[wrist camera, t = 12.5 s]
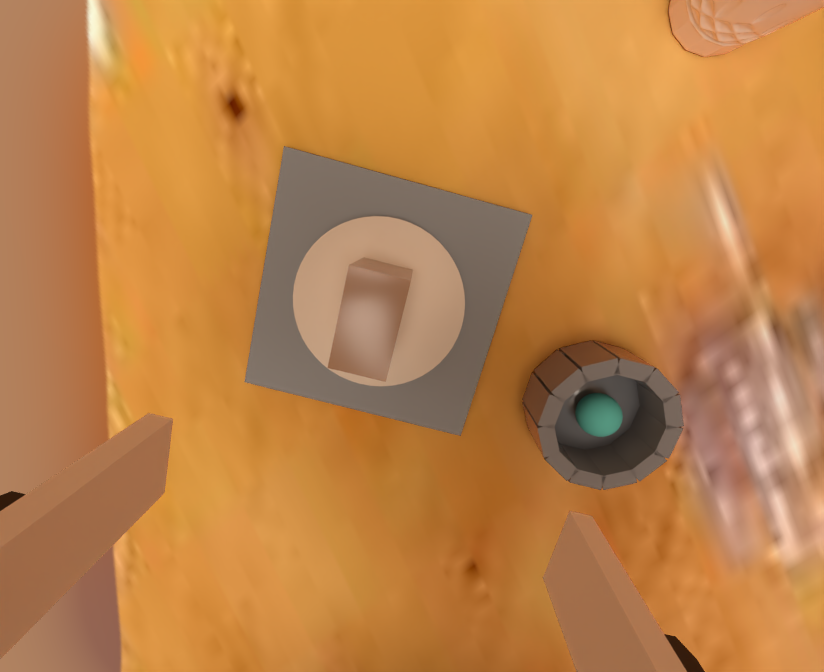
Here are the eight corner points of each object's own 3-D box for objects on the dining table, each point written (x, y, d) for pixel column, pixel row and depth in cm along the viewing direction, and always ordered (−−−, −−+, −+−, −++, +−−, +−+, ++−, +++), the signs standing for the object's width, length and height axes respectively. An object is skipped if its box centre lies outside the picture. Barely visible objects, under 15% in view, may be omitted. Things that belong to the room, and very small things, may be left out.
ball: (601, 428, 37) (620, 449, 33) (563, 418, 36) (578, 439, 33) (617, 392, 36) (638, 409, 32) (577, 382, 36) (594, 398, 32)
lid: (439, 397, 37) (444, 444, 29) (284, 360, 36) (246, 397, 28) (484, 241, 33) (504, 245, 25) (313, 196, 32) (278, 186, 25)
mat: (459, 432, 38) (460, 435, 37) (247, 379, 37) (244, 382, 37) (530, 215, 33) (532, 215, 32) (286, 147, 32) (284, 146, 32)
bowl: (619, 467, 39) (648, 501, 34) (508, 439, 38) (520, 470, 33) (667, 360, 36) (706, 380, 31) (548, 328, 35) (568, 344, 31)
